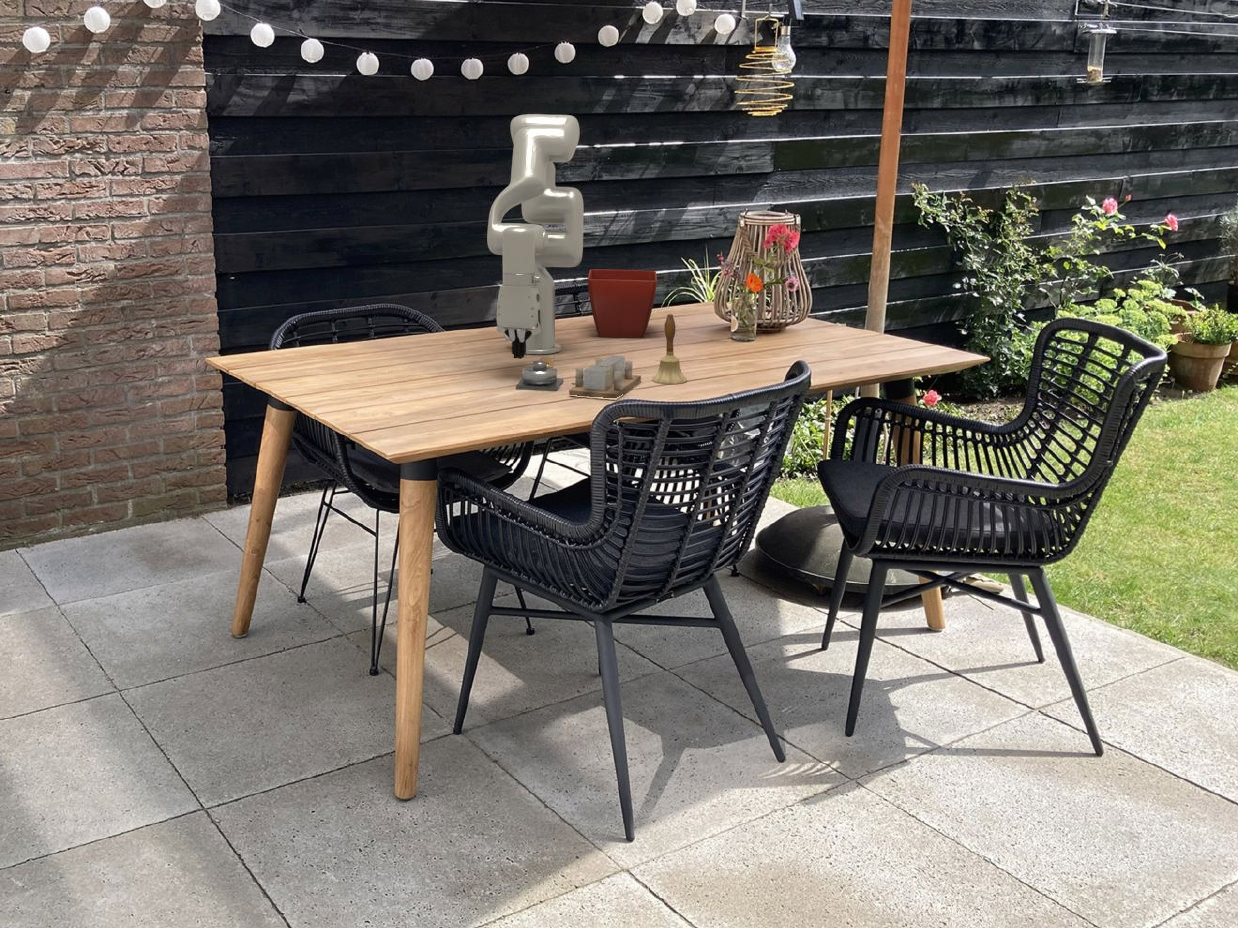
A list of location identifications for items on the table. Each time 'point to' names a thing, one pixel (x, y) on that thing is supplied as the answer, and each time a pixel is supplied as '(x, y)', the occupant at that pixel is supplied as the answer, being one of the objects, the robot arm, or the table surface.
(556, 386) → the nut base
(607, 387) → the grey joined blocks
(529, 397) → the table surface
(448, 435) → the table surface
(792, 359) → the table surface
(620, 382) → the rack
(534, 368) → the domed call bell
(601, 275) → the plant pot
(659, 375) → the hand bell
